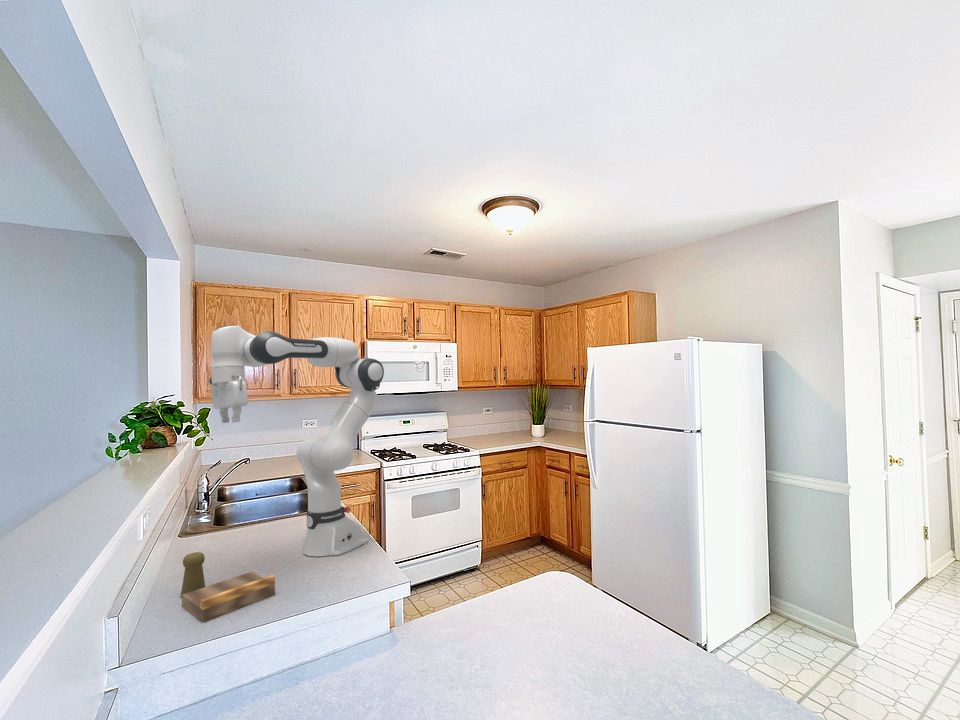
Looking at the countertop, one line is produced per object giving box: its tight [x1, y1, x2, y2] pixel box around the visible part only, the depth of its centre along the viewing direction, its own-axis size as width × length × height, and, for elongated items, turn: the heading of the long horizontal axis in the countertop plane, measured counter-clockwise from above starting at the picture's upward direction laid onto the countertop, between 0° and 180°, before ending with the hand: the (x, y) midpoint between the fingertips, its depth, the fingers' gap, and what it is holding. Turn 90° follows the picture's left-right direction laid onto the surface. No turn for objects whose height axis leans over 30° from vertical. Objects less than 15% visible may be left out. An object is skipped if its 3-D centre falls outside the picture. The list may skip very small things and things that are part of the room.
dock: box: [181, 571, 276, 623], centre depth 121 cm, size 18×14×5 cm
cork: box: [180, 551, 206, 599], centre depth 126 cm, size 6×6×11 cm
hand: (230, 422), depth 136 cm, fingers open, 8 cm apart
